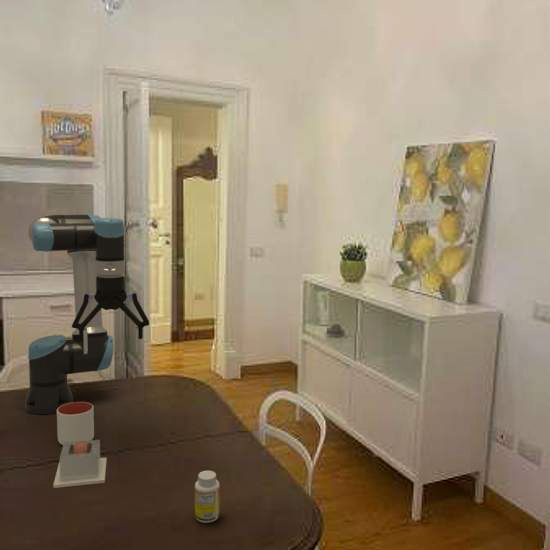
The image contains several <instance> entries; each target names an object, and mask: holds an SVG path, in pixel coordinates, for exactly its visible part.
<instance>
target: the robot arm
mask: <svg viewBox="0 0 550 550" xmlns="http://www.w3.org/2000/svg"><path fill="white" fill-rule="evenodd" d="M125 232H126V230H125V223H124V220H123V219H122V218H116V217H101V216H99V215H95V214H87V213H86V214H52V215H45V216H42V217H39V218H37V219H35V220H34V221H33V222H31V224H30V226H29V227H28V237H29V239H30V241H31V242H32V248H33V249H34V251H36V252H61V251H65V252H67V255H68V257H70V259H72V274H73V275H72V276H73V292H74V293H73V294H74V307H75V308H74V309H75V310H74V311H75V318H74V320H73V323H72V324H71V328H72V329H74V331H72V333H71V338H70V339H67V337H66V336H65V335H63V334H62V335H61V334H58V335H57V334H55V335H54V334H53V335H47V336H44V337H39V338H38V339H35V340H33V341H32V342H31V343H30V344H29V345H28V355H27V359H28V366H29V367H28V368H29V369H28V370H29V372H28V373H29V374H28V376H29V387H28V391H27V394H26V397H25V401H24V410H25V411H26V412H27V413H30V414H33V415H51V414H57V409H58V408H59V407H60V406H62V405H64V404H68V403H72V402H74V395H73V393H72V390H71V388H70V386H69V384H68V383H69V382H68V375H72V374H73V375H74V374H80V373H81V374H82V373H89V372H99V371H103V370H107V369H108V368H109V367H110V366H111V364H112V361H113V355H114V354H113V353H114V340H113V336H112V335H109V334H108V330H107V329H106V328H104V326H103V315H102V310H105V311H109V310H114V311H116V310H118V309H120V310H121V311H122V312H124V313H125V315H126V316H127V317H128V318H129V319H130V320H131V321H132V322H133V324H134V325H136V326H135V352H136V353H137V352H140V351H139V347H140V346H139V345H140V344H139V340H142V339H144V337H143V336H144V335H143V333H144V332H143V331H144V328H145V327H148V326H150V320H149V319H148V317H147V315H146V313H145V311H144V309H143V307H142V305H141V303H140V302H139V300H138V295H137V291H133V292H132V293H131V292H129V293H127V292H126V277H125V276H124V275H125V274H126V269H125V268H126V266H125V265H126V262H125ZM126 299H129V301H130V302H132V303H133V305H134V307H135V308H136V311H137V313H138V314H139V316H140V319H142V321H141V320H140V319H139V318H138V317H137V316H136V314H135V313H134V312H133V311H132V310H131V309H130V308H129V307H128V306H127V304H126V303H125V302H126Z"/></svg>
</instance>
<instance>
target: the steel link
mask: <svg viewBox="0 0 550 550" xmlns="http://www.w3.org/2000/svg"><path fill="white" fill-rule="evenodd" d="M77 442H81V441H76V442H64V444H63V445H62V448H61V451H60V455H59V462H60V481H68V480H78V479H88V478H98V477H99V468H100V458H101V439H92V440H88V441H83V442H87V453H80V454H74V444H75V443H77Z"/></svg>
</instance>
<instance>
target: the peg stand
mask: <svg viewBox="0 0 550 550" xmlns="http://www.w3.org/2000/svg"><path fill="white" fill-rule="evenodd" d="M80 453H87V442H83V441H81V442H77V443H75V444H74V454H80ZM106 472H107V457H100V468H99V477H98V478H88V479H78V480H68V481H60V461H59V463H58V465H57V470H56V473H55V478H54V481H53V489H57V488H67V487H68V488H69V487H76V486H77V487H78V486H79V487H80V486H85V485H87V486H88V485H95V484H105V482H106Z"/></svg>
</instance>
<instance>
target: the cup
mask: <svg viewBox="0 0 550 550" xmlns="http://www.w3.org/2000/svg"><path fill="white" fill-rule="evenodd" d="M94 411H95V410H94V405H93V404H92V403H90V402H86V401H75V402H74V401H73V402H72V403H68V404H64V405H62V406H60V407H59V408H58V409H57V413H56V426H57V429H56V430H57V442H58V443H59V444H60V445H62V446H63V444H64V442H76V441H88V440H94V437H95V419H94V418H95V415H94V413H95V412H94Z"/></svg>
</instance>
